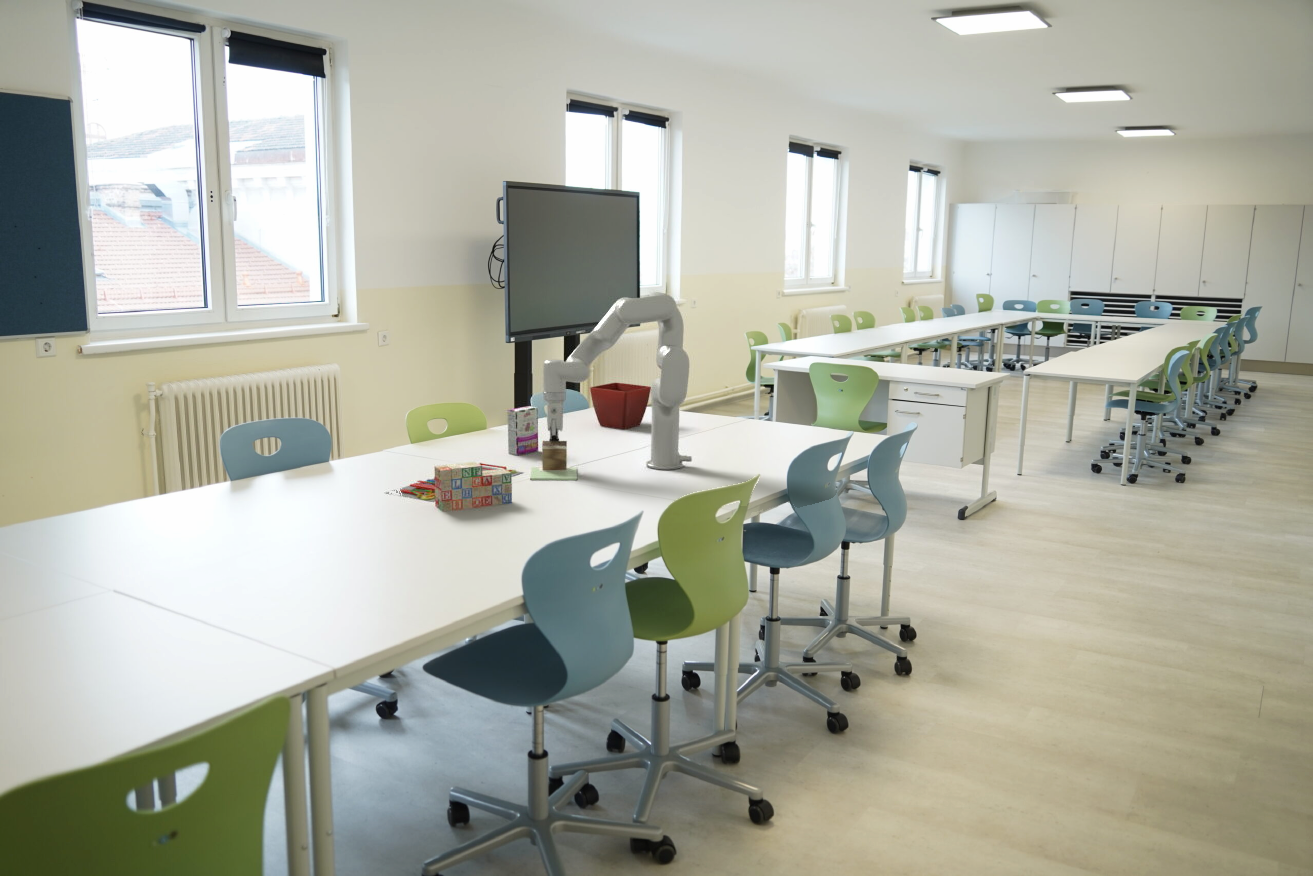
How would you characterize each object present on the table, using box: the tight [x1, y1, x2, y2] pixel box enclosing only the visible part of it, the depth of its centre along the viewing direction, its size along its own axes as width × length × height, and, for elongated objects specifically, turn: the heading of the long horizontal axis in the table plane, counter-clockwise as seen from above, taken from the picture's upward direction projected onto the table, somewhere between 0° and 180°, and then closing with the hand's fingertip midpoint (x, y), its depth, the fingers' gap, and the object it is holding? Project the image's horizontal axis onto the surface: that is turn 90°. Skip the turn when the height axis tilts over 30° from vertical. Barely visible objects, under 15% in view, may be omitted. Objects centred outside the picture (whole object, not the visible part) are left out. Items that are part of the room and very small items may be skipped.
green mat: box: [529, 466, 578, 481], centre depth 327 cm, size 15×16×1 cm
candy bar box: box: [507, 405, 539, 456], centre depth 358 cm, size 11×5×16 cm, turn 143°
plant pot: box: [589, 382, 652, 430], centre depth 415 cm, size 19×19×17 cm
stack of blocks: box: [433, 461, 513, 512], centre depth 286 cm, size 21×6×12 cm, turn 120°
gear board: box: [385, 462, 525, 503], centre depth 313 cm, size 45×2×19 cm
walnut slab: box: [541, 440, 568, 470], centre depth 330 cm, size 8×4×9 cm, turn 94°
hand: (554, 450), depth 333 cm, fingers closed
